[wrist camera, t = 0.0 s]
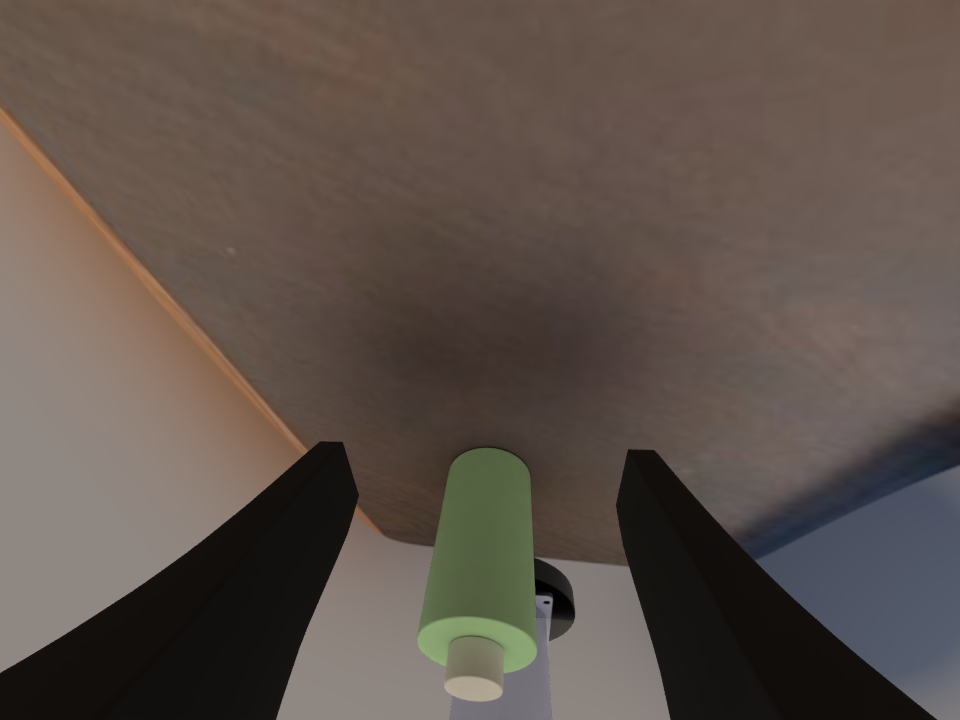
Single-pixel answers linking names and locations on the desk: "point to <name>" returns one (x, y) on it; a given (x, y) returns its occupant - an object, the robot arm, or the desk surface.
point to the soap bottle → (482, 576)
